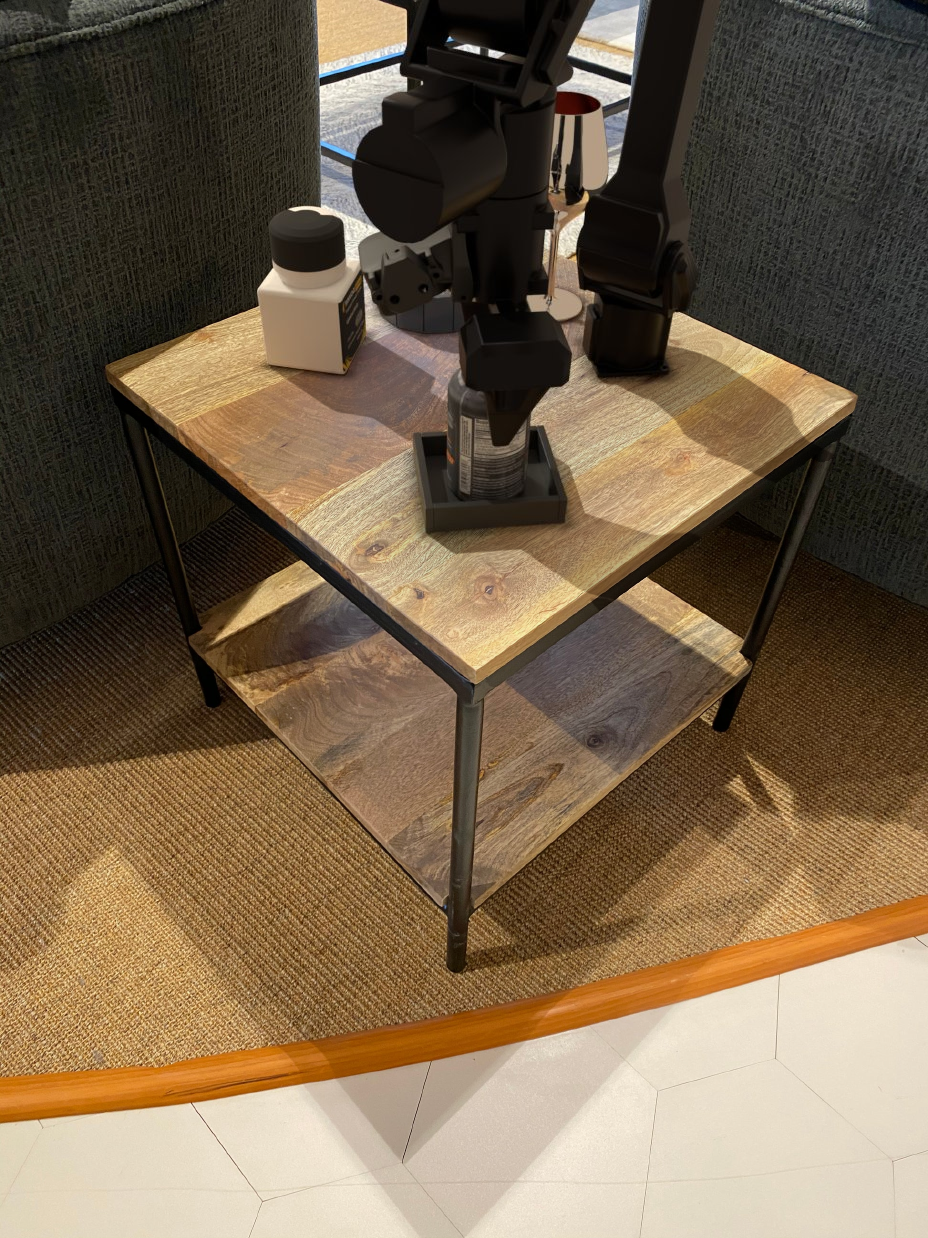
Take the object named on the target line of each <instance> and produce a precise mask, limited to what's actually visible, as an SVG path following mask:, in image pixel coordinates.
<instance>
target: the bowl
mask: <svg viewBox="0 0 928 1238" xmlns="http://www.w3.org/2000/svg"><path fill="white" fill-rule="evenodd" d="M378 313H379V315H380V317H382V318H383V319H385V320H386V321H387V322H389V324H391V325H393V326H394V327H396V328H399V329H403V330H407V331H412V332H416V333H420V334H442V333H443V334H444V333H455V332H457V331H458V332H459V328H460V327H462V326H463V325H464V321H463V315H462V310H461V305H460V302H454V303H452V299H451V295H450V293H441V294H439V295H437V296H434V297H433V299H432V301H431V302H429V303H427V304H424V305H421V306H419V307H416V308H414V309H411V310H408V311H406V312H403V313H400V314H396V315H393V316H384V315H382V314H380V311H379V310H378Z"/></svg>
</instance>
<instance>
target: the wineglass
mask: <svg viewBox="0 0 928 1238" xmlns="http://www.w3.org/2000/svg"><path fill="white" fill-rule="evenodd" d="M604 118H605V117H604V112H603V105H602V102H601V100H600V99H599V98H598V97H595V96H593V95H590V94H587V93H583V92H578V91H571V90H557V96H556V108H555V120H554V132H553V144H552V156H551V168H550V180H549V194H548V198H549V200H550V203H551V205H552V207H553V209H554V211H555V219H554V230H549V234H550V235H549V248H548V249H549V250H548V260H547V271H546V273H547V275H548V278H549V286H548V295H527V301H528V303H529V306H530V309H531V312H537V311H548V312H549V313H550V314H551V315H552V316H553V317H554V318H555V319H556V320H557V321H558V322H559V323H560V322H565V321H569V320H571V319H574V318H576V317H577V316H578V315H579V314H581V312H582V309H583V303H582V301H581V299H580V298H579V296H577V295H576V294H575V293H573V292H570V291H569V290H566V289H563V288H558V287H556V273H557V262H558V253H559V251H558V250H559V241H560V234H561V232H562V231H563V229H564V228H565V227H567V225H568V224H569V223H571V222H572V221H573V220H575V219H577V218H578V217H580V216H581V215H582V214H585V206H586V203H587V202H588V200H589V199H590V198H591V196H592V195H597V194H598V193H599V192H600V191H601V190H602V188H603V187H604V186H605V185H606V184H607V182H608V179H609V151H608V142H607V134H606V127H605V119H604Z"/></svg>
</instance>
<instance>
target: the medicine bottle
mask: <svg viewBox="0 0 928 1238" xmlns="http://www.w3.org/2000/svg"><path fill="white" fill-rule="evenodd" d="M268 235H269V236H268V237H269V244H270V251H271V260H272V261H271V262H272V267H273V268H272V269H271V270H270V271H269V273H268V274H267V276H266V277H265V278H264V280H263V281H262V282H261V284H259V285H260V286H259V287H258V288H257V292H256V293H257V301H258V308H259V315H260V323H261V328H262V329H261V330H262V336H263V346H264V351H265V358H266V363H267V364H268V365H270V366H275V367H276V366H277V367H285V368H292V369H299V370H306V371H314V372H320V373H321V372H322V373H328V374H336V375H344V374H346V373H347V371H348V370H349V367H350V366H351V364H352V362H353V360H354V358H355V356H356V354H357V352H358V350H359V349H360V347H361V345H362V343H363V342H364V339H365V337H366V335H367V319H366V302H365V299H366V298H365V284H364V281H365V279H364V276H363V273H362V271H361V267H360V260H359V259H351V258H350V259H349V258H347V253H346V237H345V223H344V221H343V219H342V218H341V217H340V215H338V214H337V213H335V212H334V211H332V210H329V209H326V208H324V207H318V206H311V205H303V206H302V205H301V206H296V207H290V208H288V209H285V210H283V211H280V212H279V213H277V214H275V215H274V216H273V217H272V218H271V220H270V221H269V223H268Z"/></svg>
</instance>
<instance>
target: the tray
mask: <svg viewBox="0 0 928 1238" xmlns="http://www.w3.org/2000/svg"><path fill="white" fill-rule="evenodd" d="M545 428H546V427H545V426H544V425H542V424H541V425H530V436H529V449H528V464H527V472H526V483H525V486H524V489H523V491H522V492H521V493H520V494H519V495H518V496H517V497H516V498H509V499H494V500H479V501H464V500H462V499H460V498H459V497H457V496H456V495H455V494H454V493H453V492H452V491H451V489H450V487H449V485H448V482H447V430H443V431H439V430H438V431H423V432H413V433H412V455H413V456H412V457H413V462H414V469H415V475H416V481H417V488H418V494H419V501H420V506H421V513H422V519H423V524H424V525H423V526H424V530H425V531H424V532H425V533H426V534H431V533H442V532H444V533H445V532H457V531H458V532H459V531H473V530H485V529H497V528H498V529H500V528H512V527H513V528H514V527H530V526H542V525H556V524H565V523H566V517H567V510H568V501H569V499H568V495H567V493H566V490H565V487H564V484H563V480H562V478H561V475H560V471H559V468H558V464H557V462H556V459H555V456H554V452H553V450H552V447H551V443H550V441H549V438H548V435H547V431H546V429H545Z"/></svg>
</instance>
